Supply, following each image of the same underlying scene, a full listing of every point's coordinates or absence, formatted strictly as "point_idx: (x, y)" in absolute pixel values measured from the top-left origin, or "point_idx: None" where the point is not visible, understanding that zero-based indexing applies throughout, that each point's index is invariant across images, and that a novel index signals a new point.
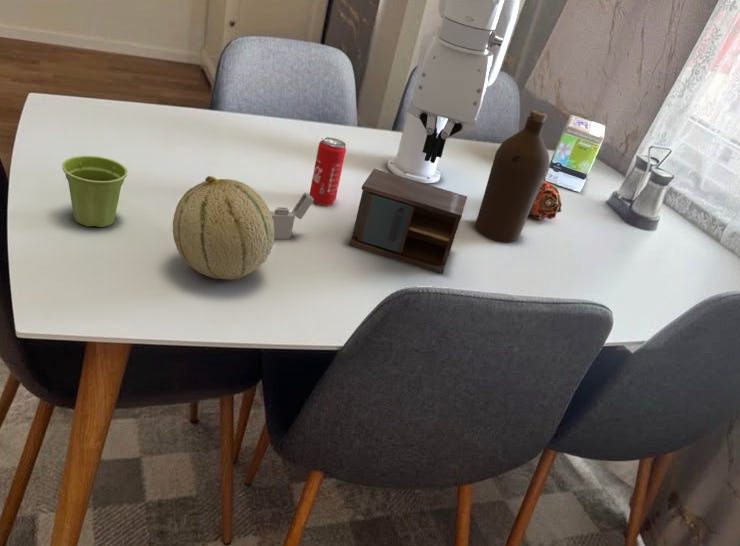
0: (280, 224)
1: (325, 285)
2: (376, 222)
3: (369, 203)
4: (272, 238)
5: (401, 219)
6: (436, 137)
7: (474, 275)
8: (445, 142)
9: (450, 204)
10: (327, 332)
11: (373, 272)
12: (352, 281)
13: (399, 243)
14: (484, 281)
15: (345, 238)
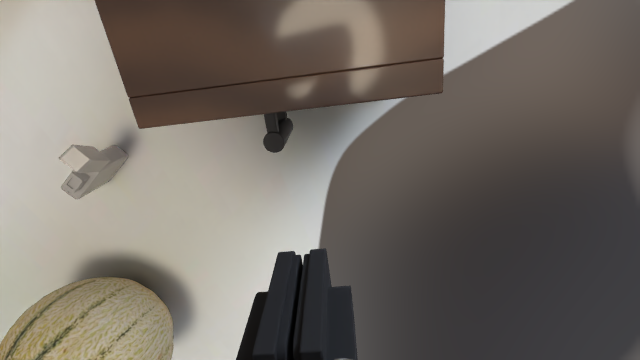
0: (98, 181)
1: (248, 248)
2: None
3: None
4: (157, 351)
5: (286, 138)
6: (291, 342)
7: (468, 24)
8: (354, 339)
9: (396, 32)
10: None
11: (288, 165)
12: (273, 214)
13: None
14: (491, 36)
15: None
